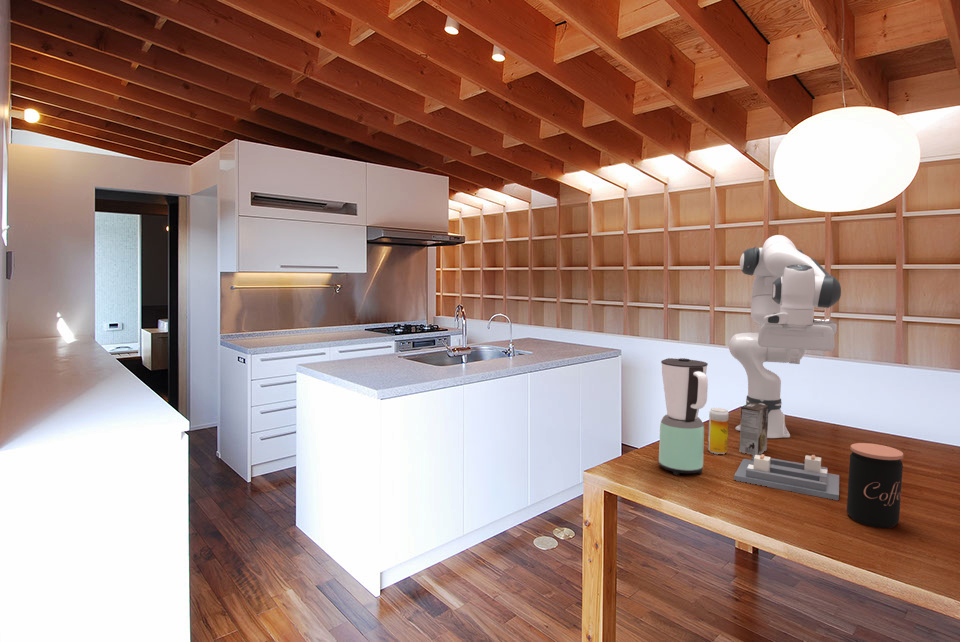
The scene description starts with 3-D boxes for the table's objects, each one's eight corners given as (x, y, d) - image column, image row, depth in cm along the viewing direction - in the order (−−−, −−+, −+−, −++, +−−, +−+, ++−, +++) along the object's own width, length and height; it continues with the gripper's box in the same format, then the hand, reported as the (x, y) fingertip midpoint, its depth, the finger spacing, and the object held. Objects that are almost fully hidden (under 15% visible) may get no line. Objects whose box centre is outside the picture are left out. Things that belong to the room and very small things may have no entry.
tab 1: (754, 470, 164) (755, 452, 164) (769, 473, 162) (770, 455, 161) (753, 474, 161) (754, 456, 160) (768, 477, 159) (769, 458, 158)
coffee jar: (860, 528, 131) (865, 455, 129) (837, 509, 141) (841, 441, 140) (909, 530, 129) (914, 457, 128) (882, 511, 140) (886, 443, 138)
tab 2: (804, 471, 164) (805, 453, 163) (820, 473, 162) (821, 455, 161) (804, 475, 160) (805, 456, 160) (819, 478, 158) (820, 459, 158)
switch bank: (743, 463, 176) (743, 452, 176) (838, 480, 162) (839, 468, 161) (733, 480, 161) (734, 468, 161) (838, 500, 147) (839, 488, 146)
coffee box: (747, 446, 193) (749, 402, 192) (767, 450, 189) (769, 405, 187) (738, 452, 187) (740, 406, 186) (758, 456, 182) (760, 409, 181)
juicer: (647, 462, 177) (650, 356, 174) (683, 459, 180) (687, 354, 177) (681, 483, 158) (685, 365, 155) (721, 480, 161) (726, 363, 158)
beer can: (729, 455, 183) (731, 412, 182) (710, 454, 184) (711, 411, 183) (724, 450, 189) (726, 408, 188) (706, 449, 190) (707, 407, 189)
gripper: (837, 319, 161) (835, 365, 162) (760, 316, 172) (758, 359, 173) (837, 320, 156) (834, 368, 157) (758, 317, 167) (756, 361, 168)
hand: (794, 363), depth 165 cm, fingers closed
